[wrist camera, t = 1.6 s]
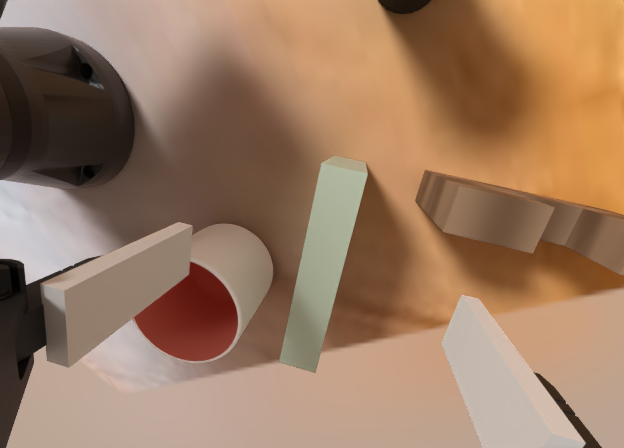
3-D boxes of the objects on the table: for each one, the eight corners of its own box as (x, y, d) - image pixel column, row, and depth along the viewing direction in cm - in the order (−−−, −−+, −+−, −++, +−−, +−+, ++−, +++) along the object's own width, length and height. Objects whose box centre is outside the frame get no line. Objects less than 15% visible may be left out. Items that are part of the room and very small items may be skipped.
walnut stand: (415, 200, 28) (442, 232, 19) (425, 170, 27) (459, 186, 18) (591, 241, 27) (719, 298, 17) (608, 210, 26) (752, 252, 16)
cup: (270, 310, 34) (236, 376, 25) (190, 291, 35) (128, 347, 26) (281, 230, 31) (247, 270, 22) (194, 212, 32) (124, 242, 23)
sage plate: (328, 305, 33) (315, 372, 23) (302, 298, 33) (278, 362, 23) (365, 162, 28) (367, 173, 18) (334, 155, 28) (321, 163, 19)
